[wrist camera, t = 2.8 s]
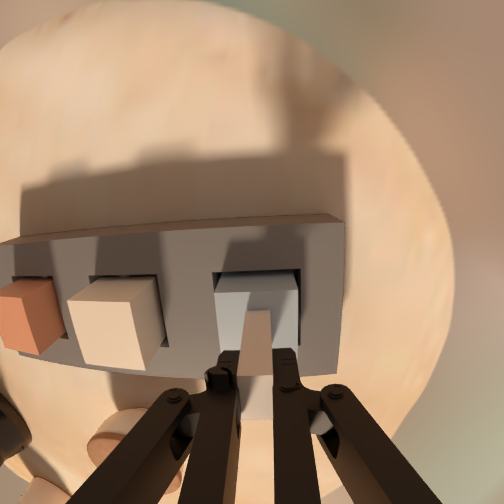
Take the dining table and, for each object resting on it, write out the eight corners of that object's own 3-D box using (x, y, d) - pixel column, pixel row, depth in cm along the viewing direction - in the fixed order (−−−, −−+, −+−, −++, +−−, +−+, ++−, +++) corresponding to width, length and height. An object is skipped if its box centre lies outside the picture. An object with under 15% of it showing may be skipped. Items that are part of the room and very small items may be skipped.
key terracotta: (34, 325, 23) (5, 347, 19) (21, 278, 22) (-12, 295, 17) (69, 329, 23) (39, 355, 18) (56, 278, 22) (21, 297, 17)
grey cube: (229, 327, 24) (221, 362, 19) (223, 268, 23) (213, 293, 18) (291, 325, 24) (297, 359, 19) (290, 266, 22) (298, 289, 18)
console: (43, 335, 28) (19, 354, 23) (19, 236, 26) (-11, 246, 21) (325, 342, 27) (336, 373, 22) (328, 213, 24) (344, 222, 19)
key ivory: (112, 333, 23) (85, 363, 18) (100, 277, 22) (66, 300, 17) (166, 335, 23) (145, 370, 18) (155, 276, 22) (129, 302, 17)
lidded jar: (110, 380, 29) (74, 433, 20) (199, 410, 29) (182, 474, 20) (112, 434, 32) (87, 482, 23) (187, 459, 32) (173, 513, 23)
